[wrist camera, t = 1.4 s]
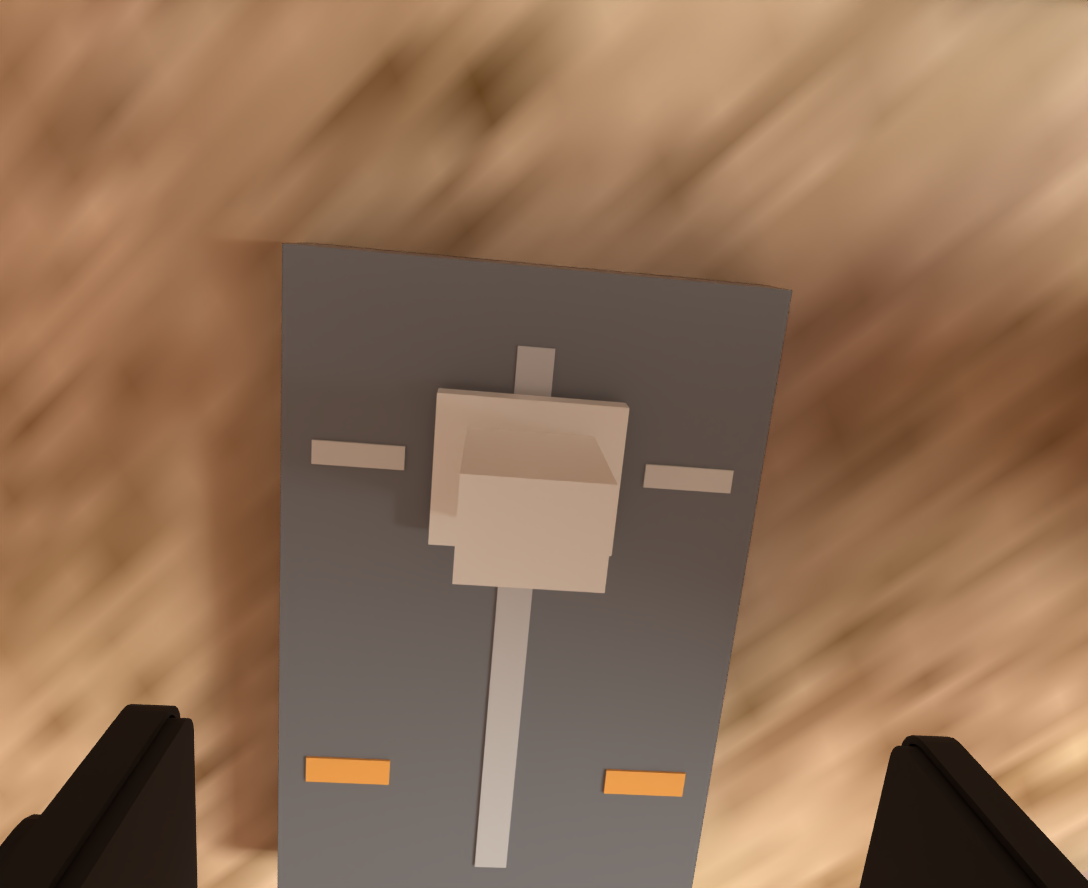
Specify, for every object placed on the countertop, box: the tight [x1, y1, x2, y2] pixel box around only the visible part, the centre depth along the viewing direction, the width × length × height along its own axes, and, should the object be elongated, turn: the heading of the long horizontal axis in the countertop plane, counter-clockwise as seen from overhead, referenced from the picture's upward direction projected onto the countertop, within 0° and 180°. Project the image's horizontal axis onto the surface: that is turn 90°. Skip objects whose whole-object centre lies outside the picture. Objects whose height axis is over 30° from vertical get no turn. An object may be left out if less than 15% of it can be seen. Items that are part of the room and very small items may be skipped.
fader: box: [428, 388, 629, 593], centre depth 23 cm, size 6×5×6 cm
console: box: [278, 243, 792, 888], centre depth 29 cm, size 16×25×3 cm, turn 175°
